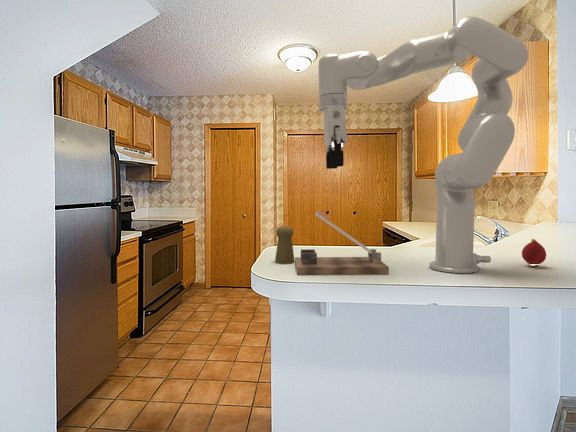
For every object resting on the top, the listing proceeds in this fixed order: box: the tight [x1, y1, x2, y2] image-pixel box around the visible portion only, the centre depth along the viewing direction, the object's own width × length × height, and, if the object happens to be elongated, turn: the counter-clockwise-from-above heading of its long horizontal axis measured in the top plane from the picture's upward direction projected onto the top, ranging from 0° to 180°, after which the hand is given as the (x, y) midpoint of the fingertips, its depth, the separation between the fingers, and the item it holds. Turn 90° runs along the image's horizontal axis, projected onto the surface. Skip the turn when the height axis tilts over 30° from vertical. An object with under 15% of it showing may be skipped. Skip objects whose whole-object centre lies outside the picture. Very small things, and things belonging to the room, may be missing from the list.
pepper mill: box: [274, 225, 295, 265], centre depth 112 cm, size 6×6×11 cm
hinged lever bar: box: [314, 209, 373, 255], centre depth 102 cm, size 20×4×2 cm
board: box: [294, 248, 390, 276], centre depth 103 cm, size 24×14×5 cm, turn 91°
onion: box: [521, 238, 547, 265], centre depth 105 cm, size 6×6×8 cm
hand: (334, 167), depth 100 cm, fingers open, 9 cm apart
